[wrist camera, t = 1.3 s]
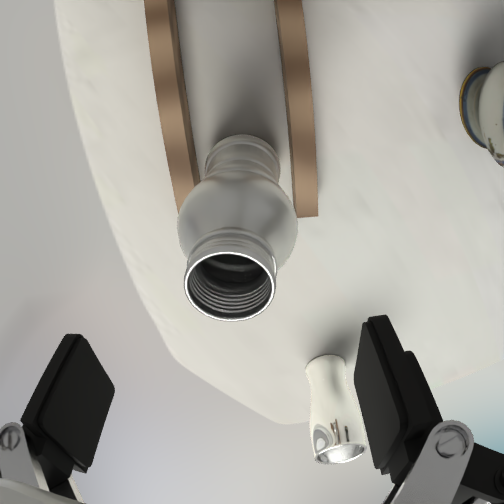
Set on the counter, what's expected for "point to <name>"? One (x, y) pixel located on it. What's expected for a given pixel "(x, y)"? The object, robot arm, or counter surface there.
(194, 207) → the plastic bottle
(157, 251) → the counter surface
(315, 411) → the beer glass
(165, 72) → the guide track
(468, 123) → the apothecary jar
